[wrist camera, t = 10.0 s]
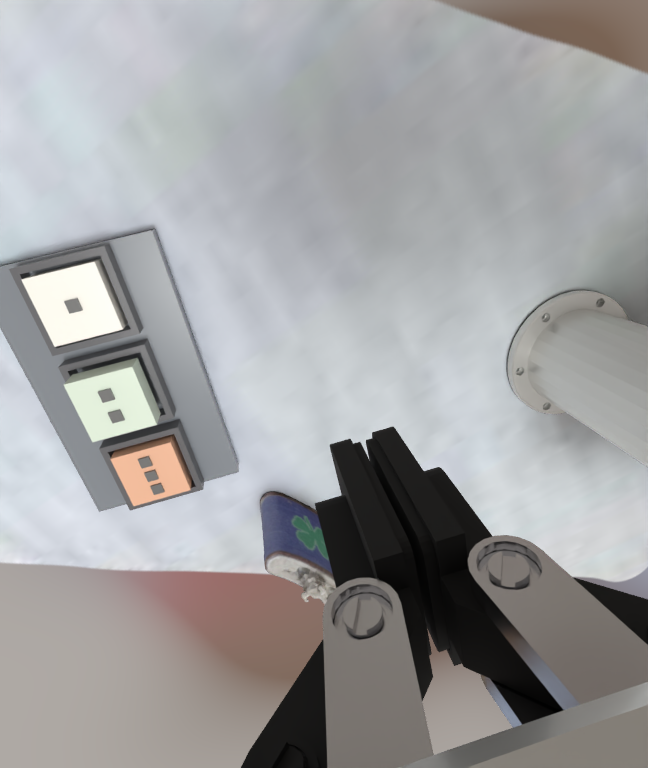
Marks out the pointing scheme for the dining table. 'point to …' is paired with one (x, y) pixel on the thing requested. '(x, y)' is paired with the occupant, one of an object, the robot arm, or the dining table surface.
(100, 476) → the keypad board
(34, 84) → the dining table surface
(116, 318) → the tile
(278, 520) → the flask
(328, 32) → the dining table surface
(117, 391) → the tile
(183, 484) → the tile
